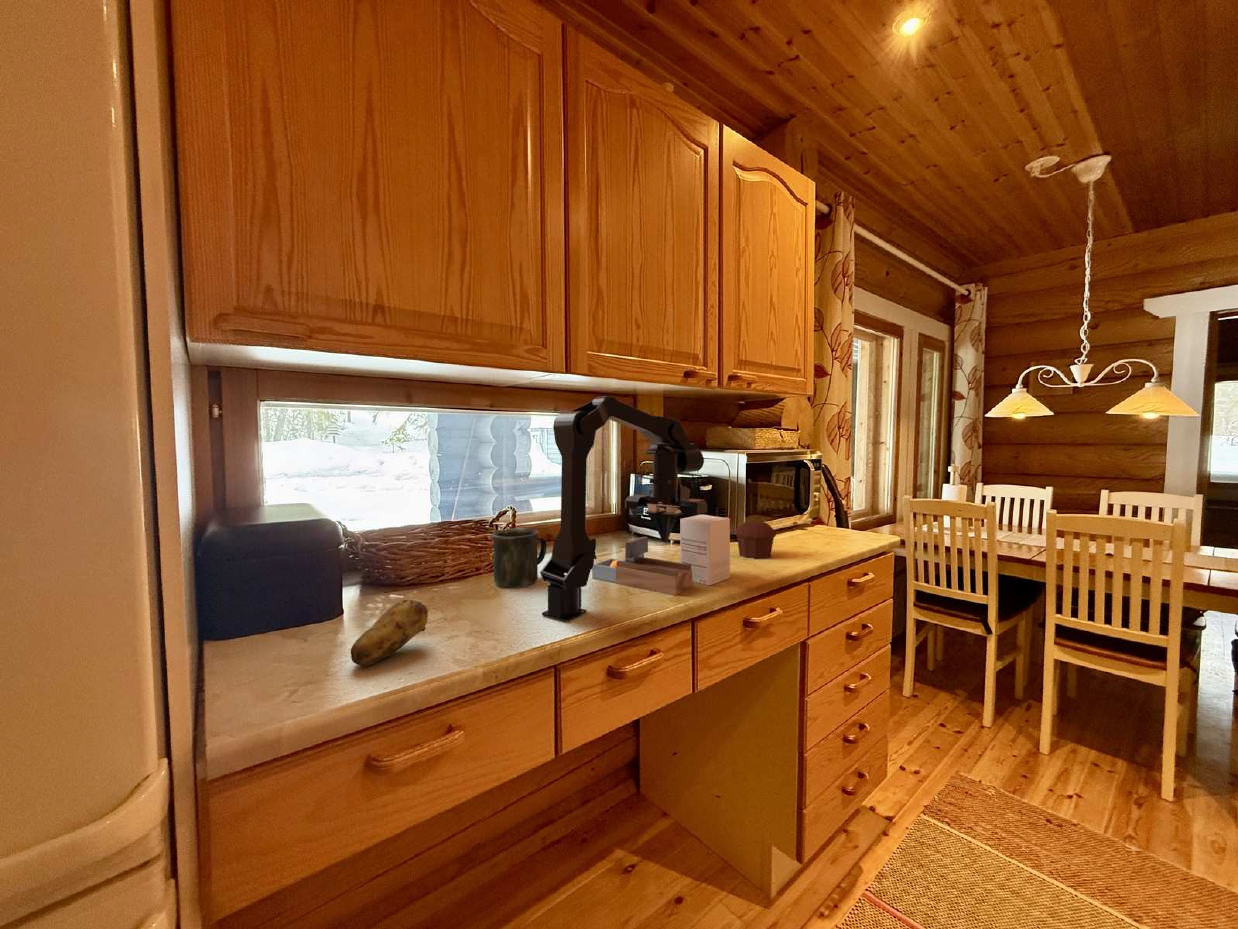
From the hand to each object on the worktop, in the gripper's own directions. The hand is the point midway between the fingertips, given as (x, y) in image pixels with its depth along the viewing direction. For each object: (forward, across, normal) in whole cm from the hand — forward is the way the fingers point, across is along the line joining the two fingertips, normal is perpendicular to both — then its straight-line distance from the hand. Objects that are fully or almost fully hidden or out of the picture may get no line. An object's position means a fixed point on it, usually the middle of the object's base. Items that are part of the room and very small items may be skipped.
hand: (665, 541), depth 120 cm
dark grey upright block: (+6, +8, 0) cm, 10 cm away
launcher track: (+11, +3, 0) cm, 11 cm away
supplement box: (+11, -4, -12) cm, 17 cm away
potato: (+11, +18, +57) cm, 61 cm away
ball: (+8, +13, 0) cm, 16 cm away
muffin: (+11, -6, -42) cm, 44 cm away
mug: (+11, +31, +15) cm, 36 cm away
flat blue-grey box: (+11, +14, 0) cm, 18 cm away
